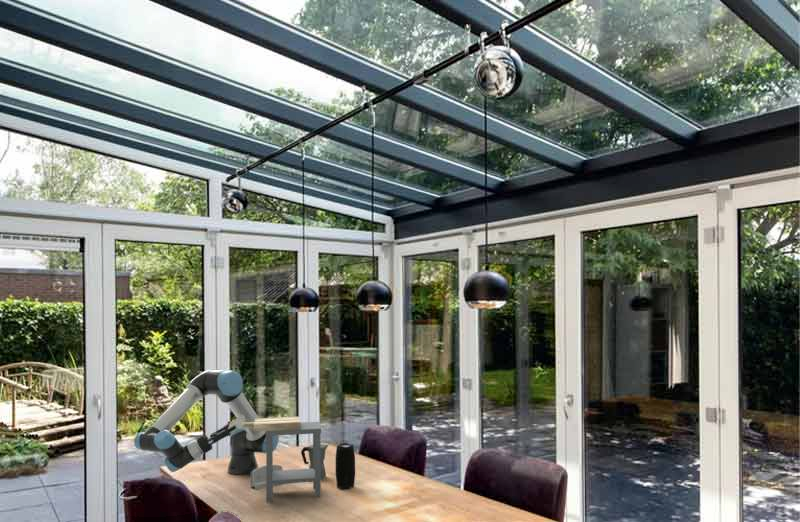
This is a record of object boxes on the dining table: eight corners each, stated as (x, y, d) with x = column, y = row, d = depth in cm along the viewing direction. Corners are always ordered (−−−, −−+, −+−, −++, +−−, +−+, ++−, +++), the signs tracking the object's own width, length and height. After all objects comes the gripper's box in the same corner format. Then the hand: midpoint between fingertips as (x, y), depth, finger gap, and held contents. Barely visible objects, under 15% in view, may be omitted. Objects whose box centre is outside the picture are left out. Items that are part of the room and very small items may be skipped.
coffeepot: (323, 473, 313) (322, 437, 315) (333, 476, 306) (333, 439, 307) (296, 478, 304) (296, 441, 305) (306, 482, 296) (306, 444, 298)
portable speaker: (339, 484, 292) (339, 442, 294) (358, 485, 290) (357, 443, 291) (332, 489, 284) (332, 446, 285) (352, 490, 281) (351, 446, 283)
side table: (266, 490, 284) (266, 424, 286) (319, 486, 288) (318, 421, 291) (265, 502, 266) (265, 431, 269) (321, 498, 271) (321, 428, 273)
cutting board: (230, 426, 282) (230, 419, 283) (299, 423, 288) (299, 416, 288) (227, 433, 267) (227, 425, 267) (300, 429, 272) (300, 422, 273)
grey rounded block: (254, 489, 286) (251, 467, 290) (250, 490, 290) (247, 469, 293) (287, 483, 296) (284, 461, 300) (283, 484, 299) (280, 463, 303)
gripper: (208, 447, 284) (249, 422, 288) (201, 460, 259) (246, 432, 264) (199, 433, 284) (241, 408, 288) (192, 444, 259) (237, 417, 264)
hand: (243, 419), depth 276 cm, fingers open, 13 cm apart
